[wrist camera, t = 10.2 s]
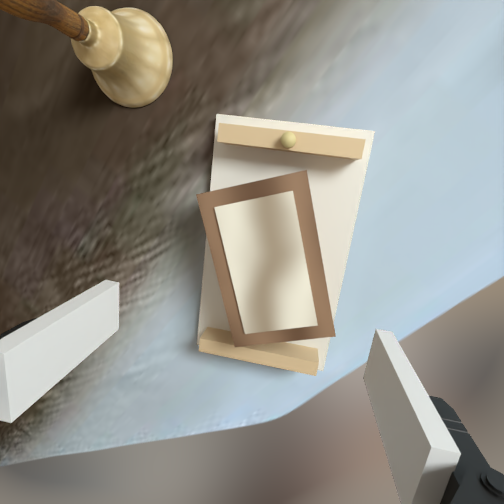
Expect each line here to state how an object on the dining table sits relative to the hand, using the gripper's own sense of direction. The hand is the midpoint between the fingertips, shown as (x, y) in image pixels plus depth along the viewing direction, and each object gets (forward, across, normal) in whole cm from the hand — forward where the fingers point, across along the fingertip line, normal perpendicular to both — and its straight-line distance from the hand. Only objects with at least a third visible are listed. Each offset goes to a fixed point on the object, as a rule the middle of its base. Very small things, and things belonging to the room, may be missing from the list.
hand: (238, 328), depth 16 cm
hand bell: (+17, -16, +16) cm, 28 cm away
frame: (+16, 0, 0) cm, 16 cm away
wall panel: (+17, 0, 0) cm, 17 cm away
